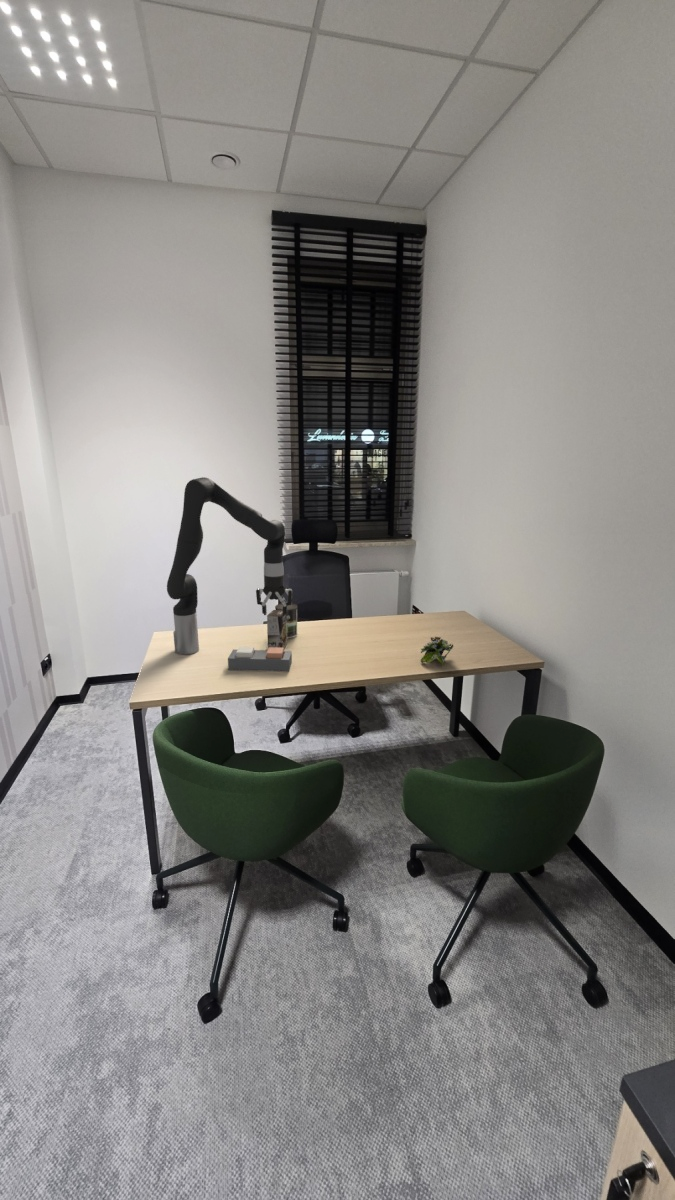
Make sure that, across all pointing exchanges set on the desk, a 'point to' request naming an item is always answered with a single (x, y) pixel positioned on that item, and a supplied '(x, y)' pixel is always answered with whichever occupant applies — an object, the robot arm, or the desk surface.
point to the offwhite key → (245, 652)
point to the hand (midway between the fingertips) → (274, 614)
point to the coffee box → (277, 629)
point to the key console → (260, 662)
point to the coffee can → (290, 619)
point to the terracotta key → (275, 652)
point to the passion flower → (435, 650)
